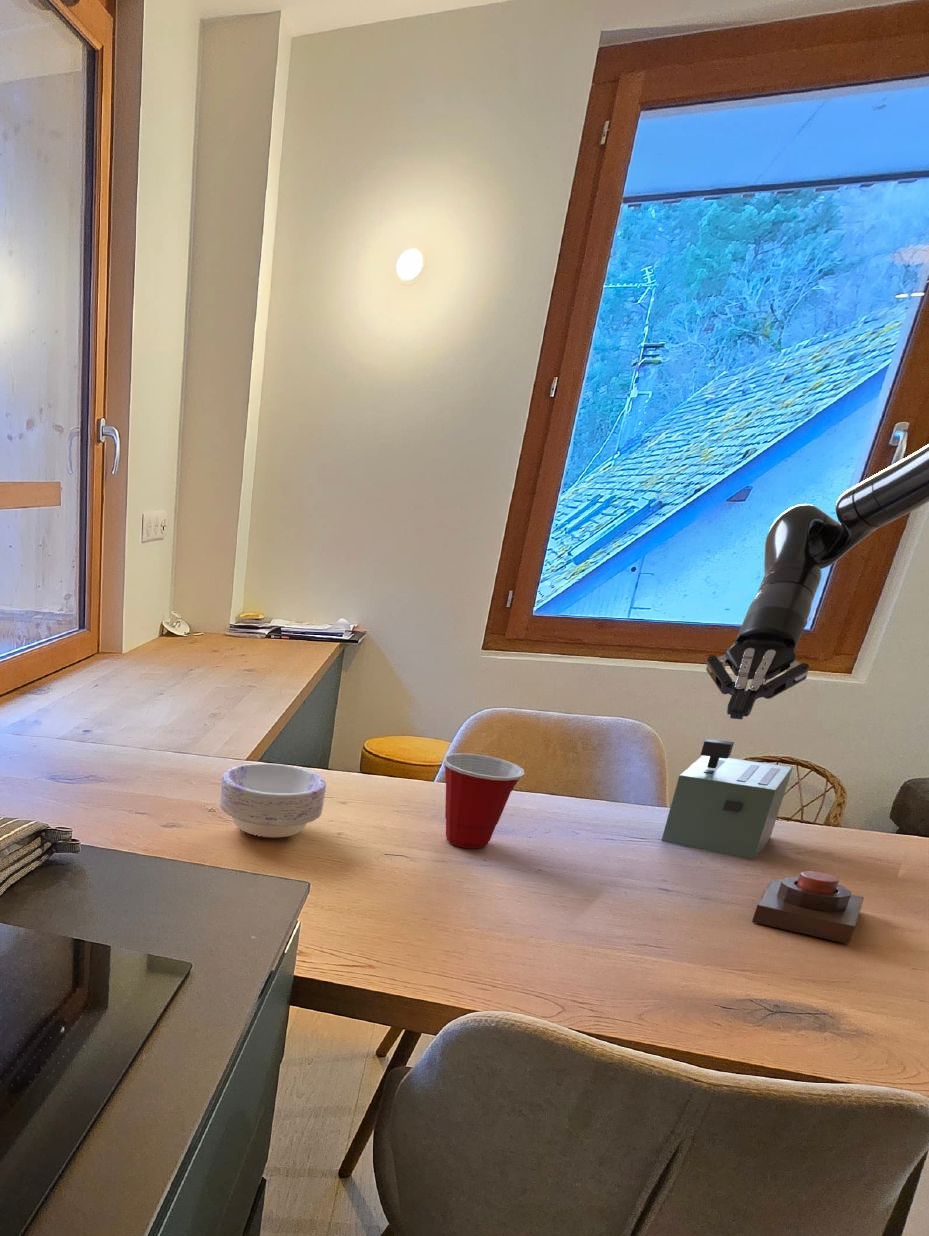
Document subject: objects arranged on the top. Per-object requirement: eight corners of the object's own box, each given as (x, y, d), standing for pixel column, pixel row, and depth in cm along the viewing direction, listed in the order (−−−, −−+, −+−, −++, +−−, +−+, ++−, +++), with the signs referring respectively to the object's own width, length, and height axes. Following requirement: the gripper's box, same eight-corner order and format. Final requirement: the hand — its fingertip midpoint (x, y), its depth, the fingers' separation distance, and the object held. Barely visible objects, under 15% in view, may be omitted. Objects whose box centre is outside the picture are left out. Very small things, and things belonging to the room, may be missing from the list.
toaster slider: (700, 764, 133) (707, 738, 132) (726, 768, 131) (734, 742, 130) (697, 766, 132) (704, 741, 130) (723, 770, 130) (731, 744, 128)
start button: (798, 882, 112) (802, 868, 111) (835, 889, 109) (840, 875, 109) (794, 890, 109) (798, 876, 108) (832, 898, 107) (837, 884, 106)
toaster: (684, 823, 145) (703, 753, 140) (769, 839, 138) (793, 766, 134) (657, 851, 133) (678, 775, 128) (749, 869, 126) (775, 790, 122)
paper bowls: (336, 842, 135) (343, 790, 132) (236, 849, 134) (240, 796, 130) (298, 807, 149) (303, 759, 145) (206, 813, 147) (209, 764, 144)
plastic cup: (518, 857, 130) (536, 775, 125) (437, 853, 132) (452, 772, 127) (497, 829, 140) (513, 752, 135) (422, 826, 141) (435, 749, 136)
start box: (767, 894, 118) (777, 864, 116) (857, 913, 112) (869, 882, 110) (751, 922, 109) (761, 890, 108) (848, 944, 104) (860, 911, 102)
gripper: (723, 602, 140) (684, 694, 136) (834, 607, 132) (795, 705, 128) (720, 635, 146) (682, 724, 142) (825, 642, 137) (789, 737, 134)
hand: (736, 715), depth 135 cm, fingers closed
